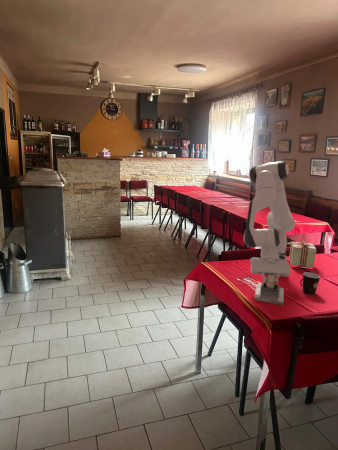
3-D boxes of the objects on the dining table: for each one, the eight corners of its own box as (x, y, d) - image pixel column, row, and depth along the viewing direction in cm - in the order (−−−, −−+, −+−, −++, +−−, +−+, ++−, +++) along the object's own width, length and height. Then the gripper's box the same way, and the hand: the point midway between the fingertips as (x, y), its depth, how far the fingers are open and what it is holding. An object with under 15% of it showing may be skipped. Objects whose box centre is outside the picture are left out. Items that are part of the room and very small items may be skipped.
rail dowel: (265, 288, 177) (267, 273, 176) (273, 289, 176) (275, 274, 174) (265, 290, 174) (267, 275, 172) (273, 292, 172) (275, 276, 171)
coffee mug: (312, 289, 187) (315, 272, 185) (320, 296, 179) (323, 278, 177) (292, 288, 187) (295, 271, 185) (299, 295, 178) (301, 277, 176)
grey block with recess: (257, 286, 187) (258, 277, 186) (283, 290, 183) (284, 282, 182) (254, 299, 168) (255, 290, 167) (283, 305, 164) (284, 295, 163)
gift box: (282, 260, 239) (285, 237, 236) (309, 263, 237) (313, 240, 233) (286, 268, 223) (290, 243, 219) (315, 271, 220) (319, 246, 217)
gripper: (251, 254, 179) (251, 277, 171) (289, 257, 178) (292, 281, 170) (248, 259, 184) (249, 282, 177) (286, 262, 183) (288, 286, 175)
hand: (270, 282), depth 173 cm, fingers closed on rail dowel, 4 cm apart
